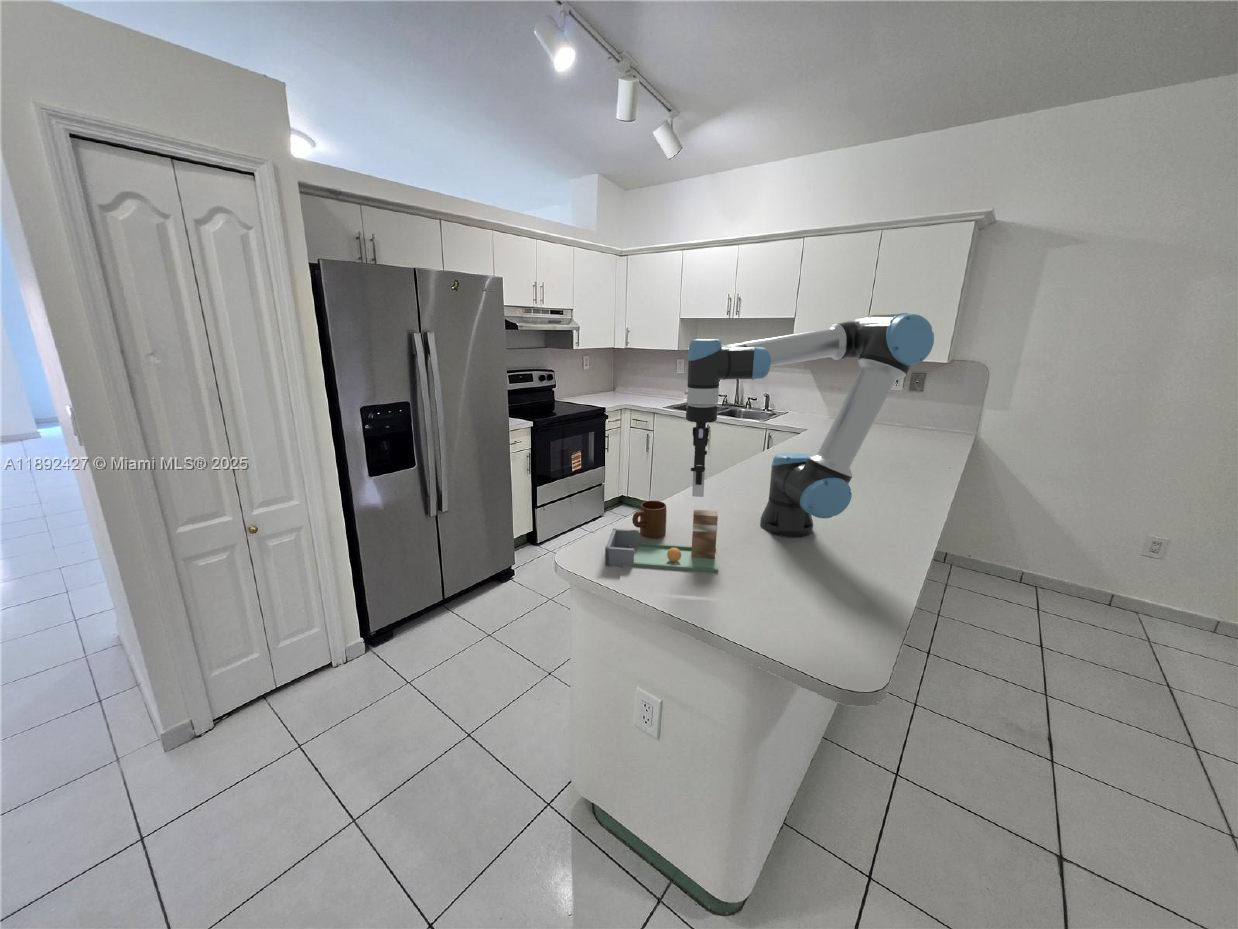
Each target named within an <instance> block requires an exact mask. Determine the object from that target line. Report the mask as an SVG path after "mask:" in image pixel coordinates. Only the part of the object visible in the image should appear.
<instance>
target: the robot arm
mask: <svg viewBox="0 0 1238 929" xmlns="http://www.w3.org/2000/svg"><path fill="white" fill-rule="evenodd" d="M934 343H935V332H933V326H932V324H931V323H930V321H929V320H928V319H927V318H925V317H924V316H922V315H920V314H917V313H916V314H915V313H907V312H903V313H896V314H895V313H893V314H873V315H867V316H864V317H863V316H862V317H859V318H856V319H852V320H847V321H843V322H839V323H838V322H837V323H833V324H832V325H829V327H828V328H826V329H820V330H813V331H812V330H811V331H806V332H805V331H804V332H801V333H794V334H787V335H781V336H775V337H770V338H764V339H763V338H762V339H757V340H756V339H755V340H750V341H744V342H739V343H732V344H724V343H723V344H722V341H721V340H720V339H718V338H716V339H715V338H712V339H710V338H708V339H707V338H706V339H705V338H703V339H702V338H696V339H695V338H694V339H692V340H691V341H690V342H689V344H688V345H689V346H688V355H687V360H686V361H687V385H686V386H687V387H686V388H687V390H684V392H683V393H684V395H686V403H687V405H686V406H685V408H686V409H685V420H686V421H687V422H689V423H695V426H692V437H693V438H692V440H693V442H692V444H693V446H694V455H693V457H694V458H693V459H694V460H693V467H690V472H692V488H691V489H692V494H691V496H692V497H698V498H704V496H705V474H706V473H705V472H706V465H705V464H706V455H708V450H706V448H707V447H708V438H709V435H710V428H709V426H706V425H707V423H709V424H710V423H711V424H712V423H714V422H716V421H717V419H718V405H717V404H719V393H720V392H719V391H720V390H719V389H720V380H722V381H724V380H751V381H753V380H759V379H764V378H766V377H767V376H768V374H769V372H770V369H771V368H772V367H776V366H783V365H789V364H795V363H802V362H809V361H813V360H820V359H825V358H831V359H833V360H834V361H836V360H837V361H838V360H842V359H855V360H857V363H858V365H859V371H858V373H857V375H856V377H855V379H854V380H853V382H852V385H851V386H850V388H849V391H848V392H847V395H846V396H845V398H844V401H843V402H842V404H841V407H840V408H839V411H838V413H837V414H836V416H835V417H834V420H833V422H832V424H831V426H830V428H829V430H828V432H827V434H826V436H825V438H824V439H823V441H822V443H821V445H820V448H819V450H818V451H817V453H816V454H813V455H812V454H808V453H800V452H799V453H798V452H797V453H795V452H787V453H786V452H785V453H779V454H776V455H774V457H772V458H773V459H772V463H771V472H770V481H769V491H768V492H769V493H768V501H767V502H766V506H765V508H764V510H763V512H762V514H761V517H760V522H759V524H760V525H759V526H760V527H761V528H762V529H763V530H766V531H768V532H770V534H772V535H775V536H779V537H783V538H791V539H792V538H793V539H794V538H795V539H796V538H799V539H800V538H804V537H805V538H806V537H808V536H810V535H811V534H812V533H813V530H814V520H813V517H815V518H818V519H830V518H831V519H832V517H836V516H838V515H840V514H842V513H843V512H844V511H845V510H846V509H847V508H848V506H849V505H850V504H851V501H852V497H853V493H852V489H851V487H850V485H849V484H850V482H851V480H852V478H853V472H852V470H851V466H852V464H853V462H854V461H855V459H856V457H857V455H858V453H859V451H860V450H861V448H862V446H863V444H864V441H865V440H866V438H867V436H868V434H869V432H870V430H871V428H872V426H873V425H874V423H875V420H876V419H877V417H878V415H879V414H880V411H881V409H882V407H883V406H884V404H885V401H886V400H887V398H888V396H889V394H890V393H891V390H892V388H893V386H894V385H895V382H896V381H898V380H900V379H903V378H904V377H906V376H907V374H908V372H909V370H910V369H911V367H912V366H914V365H917V364H919V363H920V362H923V361H925V360H926V359H927V358H928V357H929V355H930V354H931V352H932V349H933V346H934Z"/></svg>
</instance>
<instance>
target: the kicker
mask: <svg viewBox="0 0 1238 929" xmlns="http://www.w3.org/2000/svg"><path fill="white" fill-rule="evenodd" d="M718 516H719V514H718V511H717V510H709V509H707V510H706V509H693V517H692V518H693V519H692V533H691V534H692V538H691V546H692V557H695V558H708V559H715V550H716V551H717V547H716V546H717V535H718V534H717V533H718V519H719V518H718Z"/></svg>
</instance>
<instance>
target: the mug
mask: <svg viewBox="0 0 1238 929" xmlns="http://www.w3.org/2000/svg"><path fill="white" fill-rule="evenodd" d="M667 514H668V513H667V504H666V503H665V502H664V501H663V502H662V501H659V500H646V501H643V502H642V503H641V504H640V510H637V511H636V512H634V513H633V515H632V517H631V518H632V524H633V525H634V527H636V528H639V535H641V536H642V537H644V538H647V539H661V538H663V537H665V535H666V532H667Z"/></svg>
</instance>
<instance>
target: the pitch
mask: <svg viewBox="0 0 1238 929" xmlns="http://www.w3.org/2000/svg"><path fill="white" fill-rule="evenodd" d="M639 540H640V529H639V530H638V529H623V528H612V530H611V533H610V536H609V538H608V541H607V543H606V545H605V548H604V549H605V550H604V551H605V554H604V555H605V556H604V557H605V558H604V559H605V562H604V566H605V567H613V568H614V567H615V568H624V566H628V567H638V568H639V567H640V568H650V569H651V568H654V569H655V568H656V569H662V570H663V569H666V570H677V571H678V570H679V571H690V572H691V571H692V572H704V573H714V574H715V573H717V574H718V573H719V566H718V557H717V549H716V550H715V559H708V558H695V557H692V545H682V544H670V543H669V544H668V543H667V544H666V543H654V542H653V543H652V542H641V541H639ZM630 547H637V549H636V554H635V548H630ZM671 548H677V549H679V550H680V552H681V558H680V560H679V561H677V562H672V561H670V560H669V559H668V557H667V552H668V550H669V549H671Z"/></svg>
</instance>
